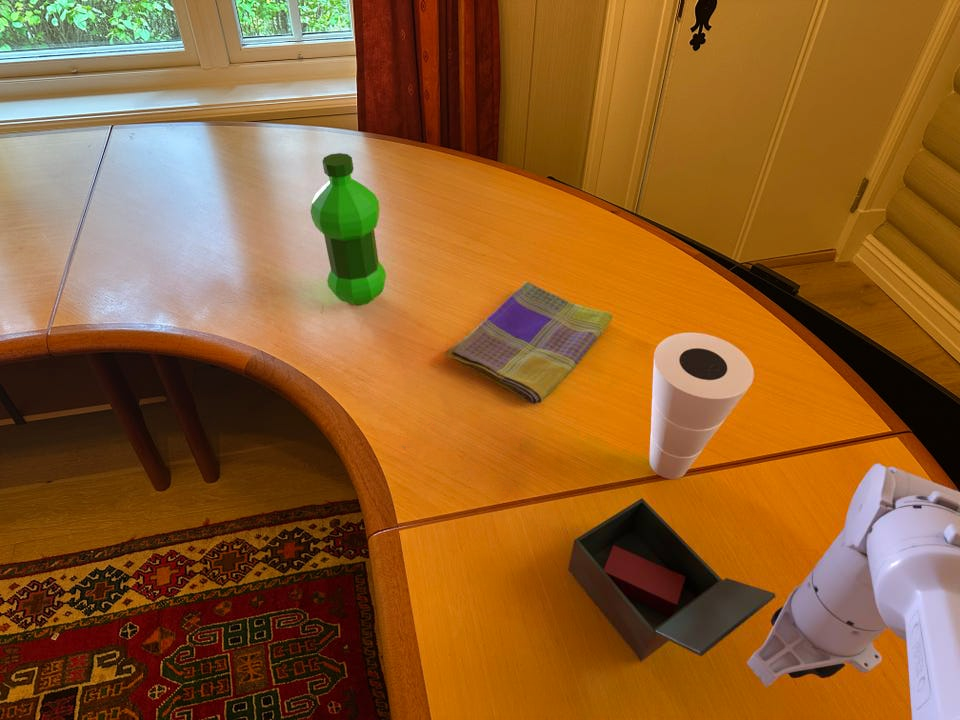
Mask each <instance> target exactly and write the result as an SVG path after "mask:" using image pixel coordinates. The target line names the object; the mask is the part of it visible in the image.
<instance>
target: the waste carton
mask: <svg viewBox="0 0 960 720" xmlns="http://www.w3.org/2000/svg"><path fill="white" fill-rule="evenodd" d="M613 545H614V546H617V547H619V548H621V549H623V550H626V551H628V552H630V553H632V554H635V555H637V556H639V557H642V558H644V559H646V560H648V561H651V562H653V563H655V564H657V565H660V566H662V567H664V568H667V569H669V570H671V571H673V572H676V573H678V574H680V575H682V576H685V581H684V584H683V588H682V591H681V594H680V598H679V601H678V605H677V607H676V609H675V611H674V613H673V615H672V616H671V617H668V616H666V615H664V614H662V613H660V612H657V611H655V610H653V609H651V608H649V607H647V606H645V605H642V604H640V603H638V602H636V601H634V600H632V599H630V598H627V597H626V596H625V595H624V594H623V593H622V592H621V590H620V589H619V588H618V587H617V586H616V584H615V583H614V582H613V581H612V580H611V578H610V577H609V576H608V575H607V574H606V573H605V571H604V570H603V569H604V567H605V564H606V562H607V559H608V557H609V554H610V552H611V549H612V547H613ZM571 547H572V548H571V552H570V558H569V563H568V567H567V571H568V572H569V573H570V574H571V576H572V577H573V578H574V580H575V581H576V582H577V583H578V585H579V586H580V587H581V588H582V590H583V591H584V592H585V593H586V595H587V596H588V597H589V599H590V601H592V602H593V603H594V605H595V606H596V607H597V608H598V610H599V611H600V612H601V614H602V615H603V616H604V617H605V618H606V620H607V621H608V622H609V624H610V625H611V626H612V627H613V629H614V630H615V631H616V632H617V634H618V635H619V636H620V637H621V639H622V640H623V641H624V643H625V644H626V645H627V646H628V648H629V649H630V650H631V651H632V652H633V654H634V655H635V657H637V659H638V660H639V662H643V661H644V660H646V659H647V658H648V657H650V656H651V655H652V654H654V653H655V652H656V651H657V650H659V649H660V648H661V647H663V646H664V645H666V644H667V643H668V642H670V641H669V640H667V639H665V638H663V637H661V636H659V635H657V634H656V630H657V629H658V628H660V627H661V626H662V625H664V624H665V623H666V622H668V621H669V620H670V619H672V618H673V617H674V616H676V615H677V614H678V613H680V612H681V611H683V610H684V609H685V608H687V607H688V606H689V605H691V604H692V603H693V602H695V601H696V600H697V599H699V598H700V597H701V596H703V595H704V594H705V593H707V592H708V591H709V590H711V589H712V588H713V587H715V586H716V585H718V584H719V583H720V582H722V581H723V580H724V579H722V577H720V576H719V574H717V572H716V571H715V570H714V569H713V568H712V567H710V565H708V563H707V562H706V561H705V560H704V559H703V558H702V557H701V556H700V555H699V554H698V553H697V552H696V551H695V550H694V549H693V548H692V546H690V545H689V544H688V543H687V542H686V541H685V540H684V539H683V538H682V536H680V535H679V534H678V533H677V532H676V530H674V529H673V528H672V527H671V525H670V524H668V522H666V520H664V518H663V517H661V515H660V514H659V513H657V511H655V509H654V508H653V507H652V506H651V505H650V504H649V503H648V502H647V501H646V500H645V499H644V498H643V497H641V498H639V499H638V500H636V501H635V502H633V503H631V504H630V505H627V506H626V507H625V508H623V509H622V510H619V511H618V512H617V513H615V514H613V515H612V516H610V517H608V518H606V520H604V521H602V522H601V523H599V524H597V525H596V526H594V527H593V528H591V529H589V530H587V531H586V532H584V533H583V534H581V535H579V536H578V537H576V538H574V539H573V542H572V546H571Z"/></svg>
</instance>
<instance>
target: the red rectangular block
mask: <svg viewBox="0 0 960 720" xmlns="http://www.w3.org/2000/svg"><path fill="white" fill-rule="evenodd" d="M603 570H604V571H605V573H606V574H607V575H608V576H609V577H610V578H611V580H612V581H613V582H614V583H615V584H616V586H617V587H618V588H619V589H620V590H621V592H622V593H623V594H624V595H625V596H626V597H627V598H630V599H632V600H634V601H636V602H638V603H640V604H642V605H645V606H647V607H649V608H651V609H653V610H655V611H657V612H660V613H662V614H664V615H666V616H668V617H671V616H672V615H673V613H674V611H675V609H676V607H677V605H678V601H679V598H680V594H681V591H682V588H683V584H684V581H685V576H682V575H680V574H678V573H676V572H673V571H671V570H669V569H667V568H664V567H662V566H660V565H657V564H655V563H653V562H651V561H648V560H646V559H644V558H642V557H639V556H637V555H635V554H632V553H630V552H628V551H626V550H623V549H621V548H619V547H617V546H614V545H613V547H612V549H611V552H610V554H609V557H608V559H607V562H606V564H605V567H604V569H603Z"/></svg>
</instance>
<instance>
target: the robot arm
mask: <svg viewBox="0 0 960 720" xmlns="http://www.w3.org/2000/svg"><path fill="white" fill-rule="evenodd" d="M770 623H771V626H772V628H771V630H770V632H769V634H768V635H767V637H766V639H765V641H764V643H763V644H762V646H761V647H760V648H758V649H757V650H756V651H754V652H753V654H752V655H751V656H750V658H749V659H748V660H747V662H746V664H747V665H748V667H749V669H751V670H752V672H753V673H754V674H755V675H756V677H757V678H758V679H759V680H760V681H761V682H762V684H763V685H764V686H765V687H767V688H768V687H769V686H770V685H772V684H773V683H775V682H776V680H778V678H779V677H782V676H784V675H789V677H790V678H791V679H798V678H802V677H806V676H807V675H814V676H817V677H819V678H821V679H827V678H830V677H833V676H834V675H835V674H837V673H838V672H839V671H841V670H842V669H843V668H844V667H846V664H850V665H852V666H853V667H854V668H855V669H856V670H857V671H858V672H860V673H862V674H867V673H869V672H870V671H872V670H873V669H874V668H875V667H877V666H878V665H879V664H880V663H881V662H882V660H883V657H882V655H881V654H880V652H879V651H878V650H877V649H876V648H875V646H874V645H873V642H874V641H876V639H878V638H879V636H881V635H882V634H883V633H884V632H885V631H886V630H888V628H889V629H890V631H892V633H893V634H895V636H896V637H898V638H899V639H901V641H903V642H905V643H906V651H907V653H906V654H907V667H908V679H909V680H908V681H909V694H910V707H911V708H910V709H911V710H910V711H911V720H960V491H958V490H955V489H954V488H953V489H952V488H950V487H947V486H944V485H942V484H939V483H936V482H934V481H931V480H929V479H926V478H923V477H921V476H918V475H915V474H913V473H910V472H907V471H905V470H902V469H899V468H897V467H894V466H889V467H887V466H885V465H882V463H880V462H878V463H875V464H873V465H872V466H871V467H870V468H869V470H868V471H867V472H866V473H865V475H864V477H863V478H862V479H861V481H860V483H859V484H858V485H857V488H856V489H855V491H854V494H853V496H852V498H851V501H850V504H849V507H848V509H847V513H846V518H845V522H844V527H843V528H842V530H841V531H840V533H838V535H837V536H836V538H835V539H834V540H833V542H832V543H831V544H830V546H829V547H828V548H827V550H826V551H825V552H824V554H823V555H822V556H821V558H820V559H819V560H818V562H817V563H816V564H815V566H814V567H813V568H812V570H811V571H810V572H809V574H808V575H807V576H806V577H805V579H804V580H803V582H801V584H799V585H797V586H796V587H795V588H794V589H793V590H792V591H791V592H790V593H789V595H788V597H787V599H786V601H785V603H784V605H783V606H781V607H779V608H778V609H777V610H775V612H774V613H773V615H772V616H771V619H770Z"/></svg>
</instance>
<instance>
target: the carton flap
mask: <svg viewBox="0 0 960 720" xmlns="http://www.w3.org/2000/svg"><path fill="white" fill-rule="evenodd" d="M722 580H723V581H722V582H720V583H719V584H718V585H716V586H715V587H713V588H712V589H711V590H709V591H708V592H707V593H705V594H704V595H703V596H701V597H700V598H699V599H697V600H696V601H695V602H693V603H692V604H691V605H689V606H688V607H687V608H685V609H684V610H683V611H681V612H680V613H678V614H677V615H676V616H674V617H673V618H672V619H670V620H669V621H668V622H666V623H665V624H664V625H662V626H661V627H660V628H658V629H657V630H656V634H657V635H659V636H661V637H663V638H665V639H667V640H669V641H668V642H670V643H671V642H672V643H673V644H675V645H678V646H679V647H681V648H683V649H684V650H687V651H689V652H691V653H693V654H696V656H699V657H703V656H704V655H705V654H706V653H707V652H709V651H710V650H711V649H713V648H714V647H715V646H716V645H718V644H719V643H720V642H721V641H723V640H724V639H725V638H726V637H727V636H729V635H730V634H732V633H733V632H734V631H735V630H736V629H738V628H739V627H741V625H743V624H744V623H745V622H746V621H748V620H749V619H750V618H752V617H753V616H754V615H755V614H756V613H758V612H759V611H760V610H761V609H763V608H764V607H765V606H766V605H768V604H769V603H770V602H772V601H773V600H774V599H776V597H777V596H776V593H775V592H772V591H770V590H766V589H762V588H759V587H756V586H753V585H750V584H746V583H744V582H740V581H737V580H734V579H731V578H728V577H726V578H724V579H722Z"/></svg>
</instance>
